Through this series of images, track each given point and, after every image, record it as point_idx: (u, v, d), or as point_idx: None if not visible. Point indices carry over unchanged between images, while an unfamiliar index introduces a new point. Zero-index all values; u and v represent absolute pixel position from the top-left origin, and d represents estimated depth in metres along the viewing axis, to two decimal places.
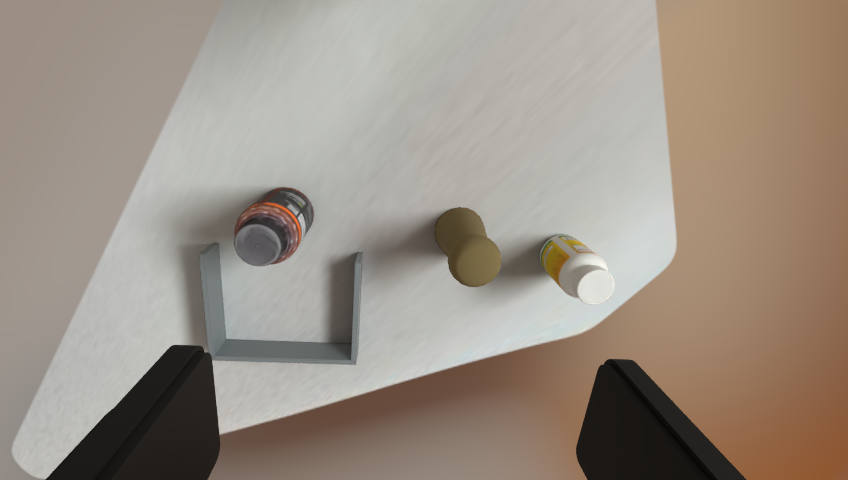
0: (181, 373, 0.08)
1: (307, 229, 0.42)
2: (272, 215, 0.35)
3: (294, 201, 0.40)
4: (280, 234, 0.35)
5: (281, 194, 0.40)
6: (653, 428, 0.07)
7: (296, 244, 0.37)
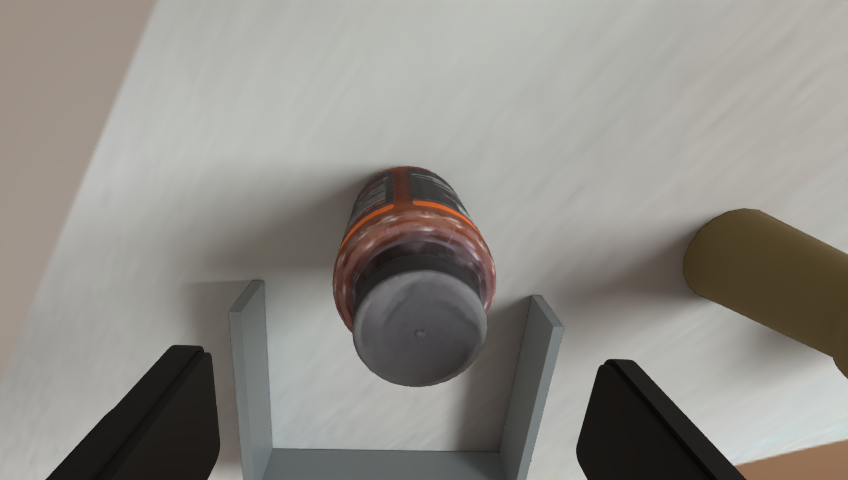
0: (181, 373, 0.08)
1: None
2: (447, 238, 0.13)
3: (454, 197, 0.17)
4: (478, 295, 0.12)
5: (422, 180, 0.17)
6: (653, 428, 0.07)
7: (489, 310, 0.14)
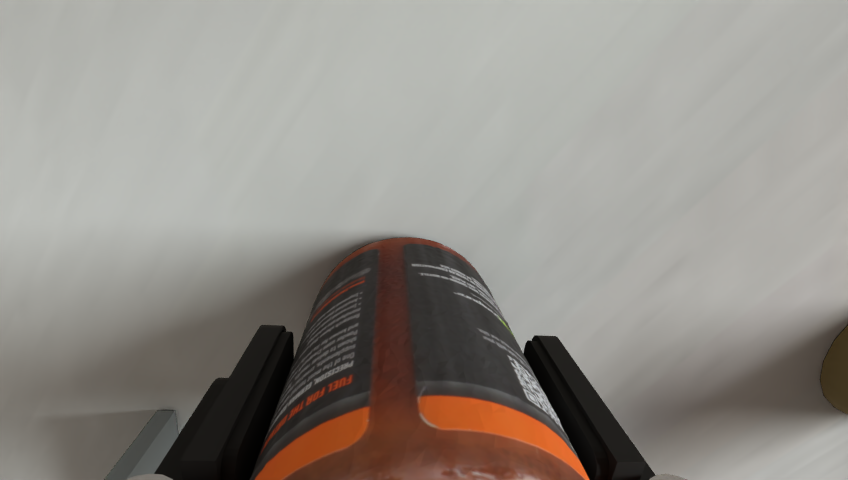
0: (275, 348, 0.09)
1: None
2: None
3: (496, 322, 0.09)
4: None
5: (432, 286, 0.09)
6: (558, 393, 0.08)
7: None
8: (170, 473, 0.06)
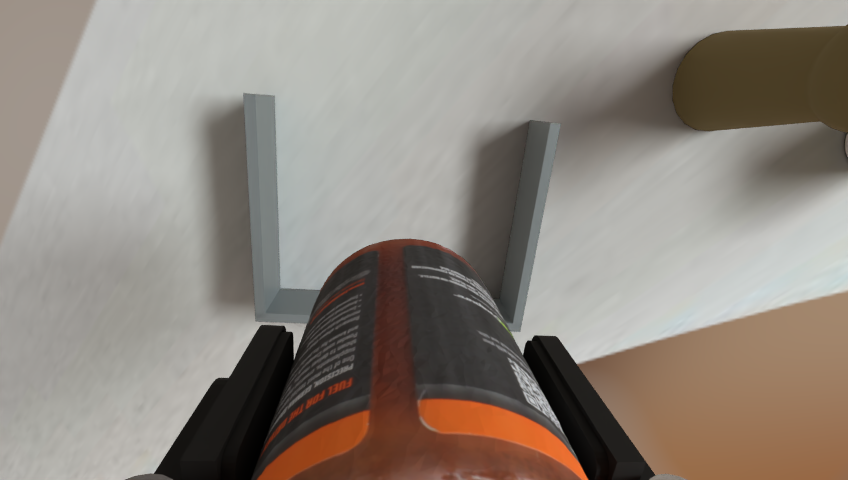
0: (275, 348, 0.09)
1: None
2: None
3: (495, 324, 0.09)
4: None
5: (432, 288, 0.09)
6: (558, 393, 0.08)
7: None
8: (170, 473, 0.06)
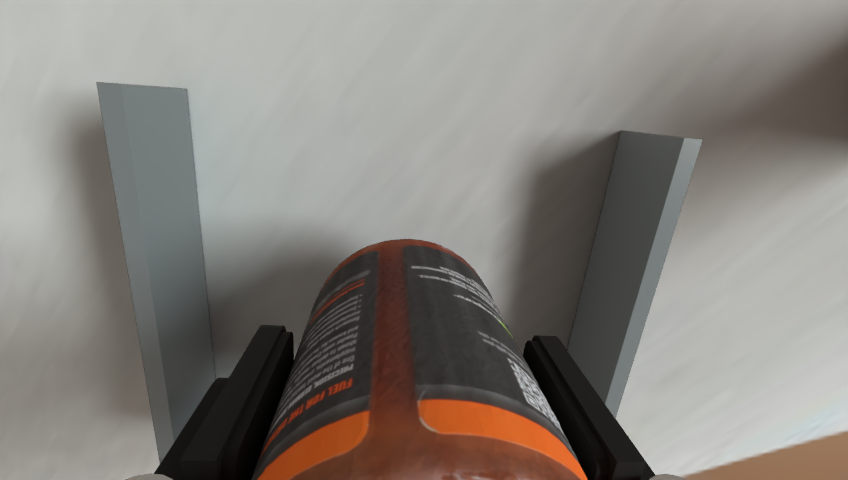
0: (275, 348, 0.09)
1: None
2: None
3: (495, 325, 0.09)
4: None
5: (432, 289, 0.09)
6: (558, 393, 0.08)
7: None
8: (170, 473, 0.06)
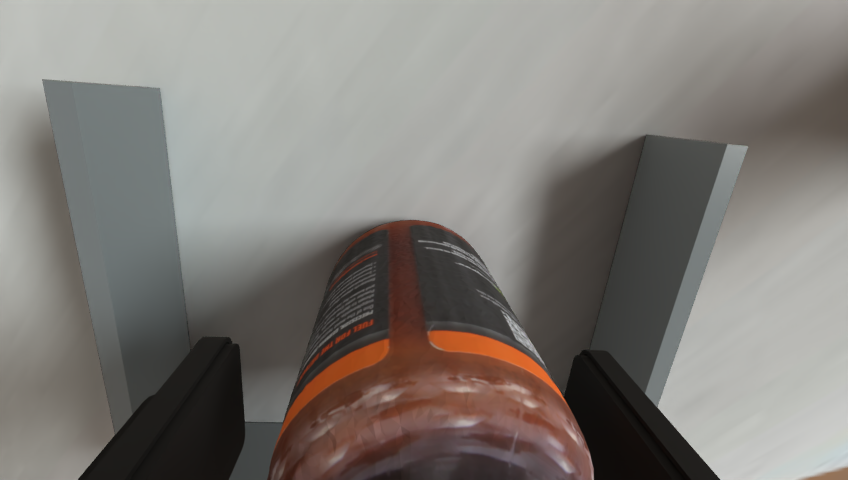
0: (214, 362, 0.08)
1: None
2: (508, 440, 0.06)
3: (491, 288, 0.10)
4: None
5: (437, 257, 0.10)
6: (620, 414, 0.08)
7: None
8: None
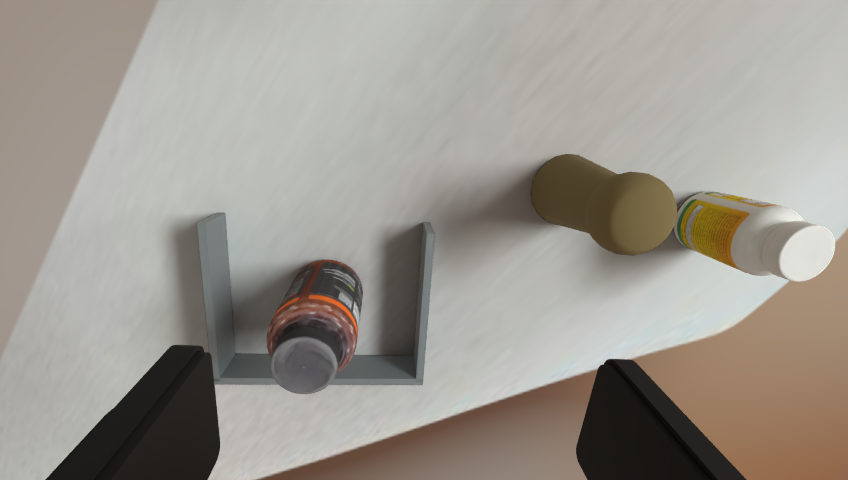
0: (181, 373, 0.08)
1: None
2: (322, 317, 0.25)
3: (343, 285, 0.29)
4: (335, 346, 0.24)
5: (326, 275, 0.29)
6: (653, 428, 0.07)
7: (353, 352, 0.26)
8: None
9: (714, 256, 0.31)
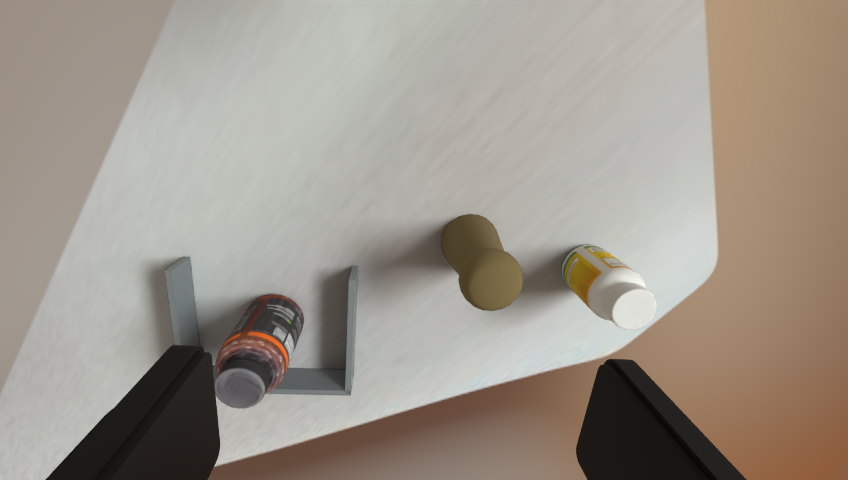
0: (181, 373, 0.08)
1: None
2: (256, 350, 0.33)
3: (281, 320, 0.37)
4: (264, 373, 0.32)
5: (268, 311, 0.37)
6: (653, 428, 0.07)
7: (283, 375, 0.34)
8: None
9: (583, 301, 0.39)
